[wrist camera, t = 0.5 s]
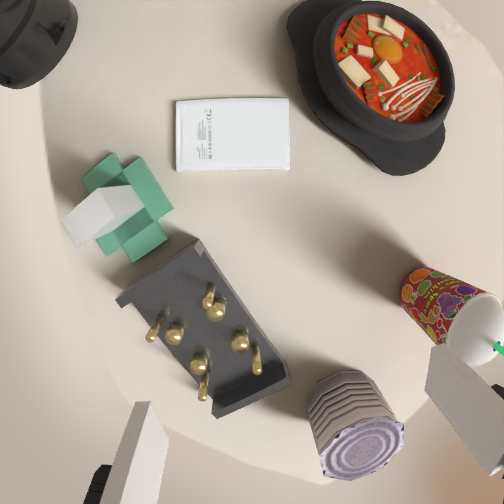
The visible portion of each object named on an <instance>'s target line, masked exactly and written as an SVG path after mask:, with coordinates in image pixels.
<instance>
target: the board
mask: <svg viewBox="0 0 504 504" xmlns="http://www.w3.org/2000/svg"><path fill="white" fill-rule="evenodd" d="M81 180H82V182H83V184H84V186H85V187H86V189H87V191H88V192H89V194H90V195H89V196H88V197H87V198H85V199H84V200H83V201H82V202H81V203H80V204H79V205H77V206H76V207H75V208H74V209H73V210H72V211H71V212H70V213H68V214H67V215H66V216H65V217H64V218H63V219H62V220H61V223H62V225H63V227H64V228H65V230H66V232H67V233H68V235H69V237H70V238H71V240H72V241H73V243H74V245H75V246H76V248H78V247H80V246H82V245H84V244H86V243H88V242H90V241H92V240H95V239H96V241H97V242H98V244H99V246H100V247H101V249H102V250H103V252H104V253H105V255H106V256H108V255H110V254H111V253H112V252H114V251H115V250H116V249H118V248H119V247H120V246H122V247H123V248H124V250H125V251H126V253H127V254H128V256H129V257H130V259H131V260H132V262H133V263H134V262H135V261H137V260H138V259H140V258H141V257H143V256H144V255H145V254H147V253H148V252H150V251H151V250H153V249H154V248H156V247H157V246H158V245H160V244H161V243H163V242H164V241H166V240H167V239H168V237H167V235H166V234H165V232H164V231H163V229H162V228H161V226H160V225H159V223H158V221H157V220H158V219H159V218H161V217H162V216H163V215H165V214H166V213H168V212H169V211H171V210H172V209H174V207H173V206H172V204H171V203H170V201H169V200H168V198H167V197H166V195H165V193H164V192H163V190H162V189H161V187H160V186H159V184H158V183H157V181H156V179H155V178H154V176H153V175H152V173H151V171H150V170H149V168H148V167H147V165H146V164H145V162H144V160H143V159H142V158H138V159H137V160H135V161H134V162H133V163H131V164H130V165H129V166H128V167H126V168H125V169H124V168H123V166H122V165H121V163H120V161H119V160H118V158H117V156H116V155H115V154H113V153H111V154H110V155H109V156H108V157H106V158H105V159H104V160H103V161H102V162H100V163H99V164H98V165H97V166H96V167H94V168H93V169H92V170H91V171H90V172H88V173H87V174H86V175H85V176H84V177H83V178H82V179H81Z"/></svg>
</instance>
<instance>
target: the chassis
mask: <svg viewBox="0 0 504 504" xmlns="http://www.w3.org/2000/svg"><path fill="white" fill-rule="evenodd" d="M115 300H116V302H117V303H118V305H119V306H120V307H121V308H123V307H124V306H126V305H127V304H129V303H130V302H132V303H133V304H134V305H135V307H136V308H137V309H138V311H139V312H140V313H141V315H142V316H143V317H144V319H145V320H146V321H147V323H148V324H149V325H150V326H151V328H150V330H149V331H148V333H147V335H146V340H147V341H148V342H153V341H154V340H155V338H156V336H157V335H158V337H159V338H160V339H161V340H162V341H163V343H164V344H165V345H166V346H167V348H168V349H169V350H170V351H171V352H172V354H173V355H174V356H175V357H176V358H177V360H178V361H179V362H180V363H181V364H182V365H183V367H184V368H185V369H186V370H187V371H188V372H189V374H190V375H191V376H192V377H193V378H194V379H195V380H196V381H197V383H198V384H199V385H200V388H199V394H198V399H199V400H200V401H206V399H207V394H208V395H209V396H210V397H211V398H212V399H213V403H212V414H213V415H214V416H215V417H216V418H217V419H218V418H220V417H223V416H225V415H227V414H229V413H232V412H234V411H236V410H238V409H241V408H243V407H245V406H247V405H249V404H251V403H253V402H256V401H258V400H260V399H262V398H264V397H266V396H268V395H270V394H272V393H274V392H276V391H278V390H280V389H282V388H284V387H286V386H288V385H290V384H291V380H290V376H289V372H288V368H287V365H286V363H285V361H284V360H283V359H282V357H281V356H280V354H279V353H278V352H277V350H276V349H275V348H274V346H273V345H272V343H271V342H270V341H269V339H268V338H267V336H266V335H265V334H264V332H263V331H262V329H261V328H260V327H259V325H258V324H257V322H256V321H255V319H254V318H253V317H252V315H251V314H250V312H249V311H248V309H247V308H246V307H245V305H244V304H243V302H242V301H241V299H240V298H239V297H238V295H237V294H236V292H235V291H234V289H233V288H232V286H231V285H230V284H229V282H228V281H227V279H226V278H225V276H224V275H223V273H222V272H221V270H220V269H219V267H218V266H217V264H216V263H215V262H214V260H213V259H212V257H211V256H210V254H209V253H208V251H207V250H206V248H205V247H204V245H203V244H202V242H201V241H200V239H198V240H196V241H195V242H193V243H192V244H190V245H189V246H187V247H186V248H184V249H183V250H181V251H180V252H178V253H177V254H175V255H174V256H172V257H171V258H169V259H168V260H166V261H165V262H163V263H162V264H160V265H159V266H157V267H156V268H154V269H153V270H151V271H150V272H148V273H147V274H145V275H144V276H142V277H141V278H139V279H138V280H136V281H135V282H133V283H132V284H131V285H129V286H128V287H127V288H126V289H125V290H124V291H123V292H122V293H121V294H120V295H119V296H118V297H117V298H116V299H115Z"/></svg>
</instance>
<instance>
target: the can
mask: <svg viewBox="0 0 504 504" xmlns="http://www.w3.org/2000/svg"><path fill="white" fill-rule="evenodd" d="M306 407H307V414H308V418H309V422H310V425H311V429H312V432H313V436H314V439H315V443H316V447H317V450H318V454H319V458H320V462H321V466H322V470H323V474H324V476H325V477H330V478H336V479H341V480H347V481H351V480H354V479H357V478H360V477H362V476H365V475H368V474H370V473H373V472H375V471H378V470H380V469H382V468H383V467H384V466H385V465H386V464H387V463H388V462H389V461H390V460H391V459H392V458H393V457H394V456H395V454H396V453H397V452H398V451H399V450H400V449H401V448H402V447H403V434H404V433H403V432H404V424H403V423H400V422H399V421H398V420H397V418H396V416H395V415H394V413H393V411H392V410H391V408H390V407H389V405H388V403H387V402H386V400H385V398H384V397H383V395H382V394H381V392H380V390H379V389H378V387H377V386H376V384H375V382H374V381H373V380H372V379H371V378H369V377H368V376H367V375H366V374H365V373H363V372H362V371H338V372H336V373H335V374H333V375H331V376H329V377H327V378H325V379H323V380H321V381H319V382H317V384H316V385H315V387H314V388H313V390H312V391H311V392H310V394H309V395H308V397H307V398H306Z"/></svg>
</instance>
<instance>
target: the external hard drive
mask: <svg viewBox="0 0 504 504" xmlns="http://www.w3.org/2000/svg"><path fill="white" fill-rule="evenodd" d="M260 169H290V134H289V99H288V98H221V99H200V100H187V101H176V171H177V172H187V171H212V170H260Z"/></svg>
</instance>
